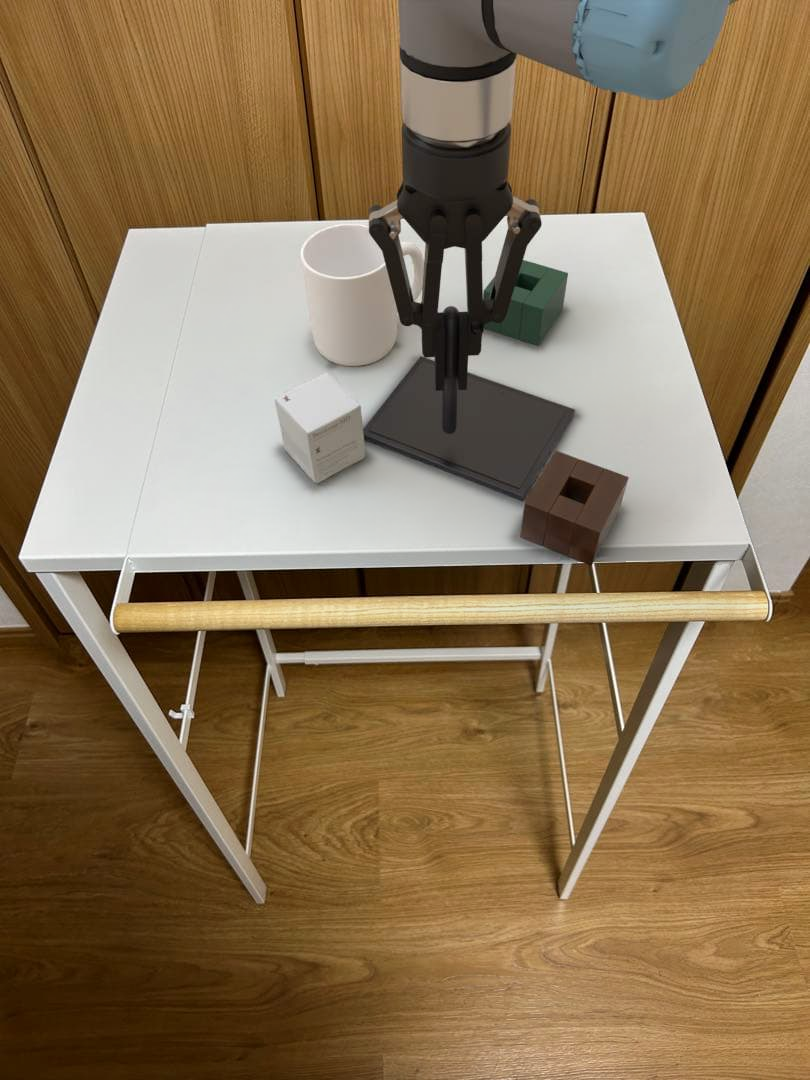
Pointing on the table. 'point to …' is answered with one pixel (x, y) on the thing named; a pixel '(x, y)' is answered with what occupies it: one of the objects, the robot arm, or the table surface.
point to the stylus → (450, 370)
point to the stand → (532, 303)
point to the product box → (321, 427)
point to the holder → (573, 507)
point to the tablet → (471, 429)
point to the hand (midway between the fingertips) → (450, 379)
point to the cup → (352, 293)
